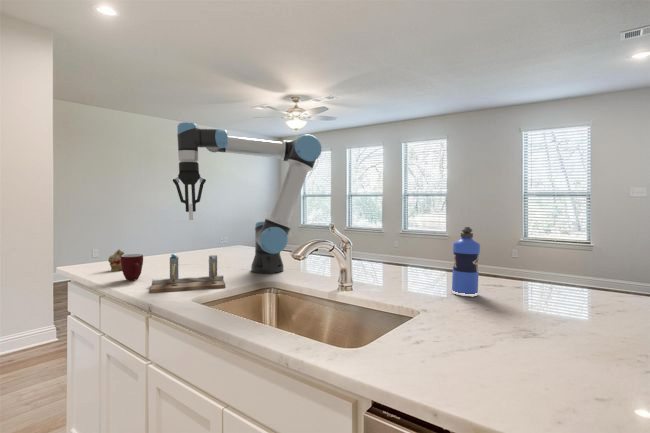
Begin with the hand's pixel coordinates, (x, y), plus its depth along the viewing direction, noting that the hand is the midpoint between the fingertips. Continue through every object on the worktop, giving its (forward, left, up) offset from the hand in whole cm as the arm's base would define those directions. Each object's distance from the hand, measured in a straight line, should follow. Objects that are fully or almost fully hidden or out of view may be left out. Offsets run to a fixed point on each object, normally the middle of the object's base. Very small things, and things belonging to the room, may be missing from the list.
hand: (191, 219), depth 148 cm
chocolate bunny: (+31, -30, -25) cm, 50 cm away
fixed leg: (-8, +10, -22) cm, 26 cm away
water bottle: (-95, +52, -25) cm, 111 cm away
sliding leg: (+6, +10, -22) cm, 25 cm away
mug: (+22, -6, -25) cm, 34 cm away
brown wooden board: (+1, +11, -25) cm, 27 cm away
